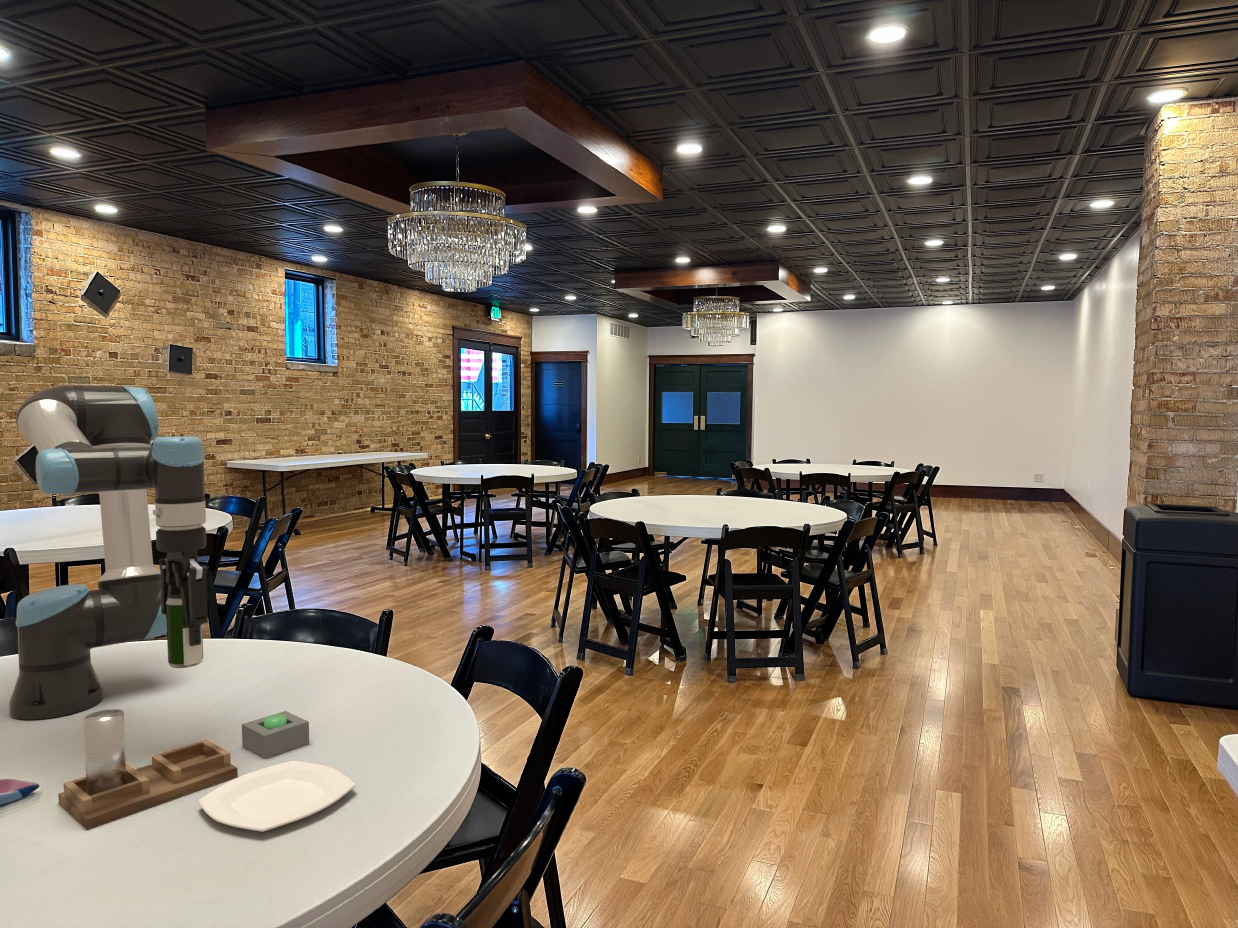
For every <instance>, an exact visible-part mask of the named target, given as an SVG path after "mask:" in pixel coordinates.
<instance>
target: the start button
mask: <svg viewBox="0 0 1238 928" xmlns="http://www.w3.org/2000/svg"><path fill="white" fill-rule="evenodd" d="M276 714H277V713H276ZM267 716H268V717H267ZM267 716H265V717H266V718H265V719H264V727H265V728H267V729H269V730H271V729H274V728H277V727H280V726H283V725H286V724H287V721H286V715H282V714H277V715H274V714H271V716H270V715H267Z"/></svg>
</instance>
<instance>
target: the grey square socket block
mask: <svg viewBox="0 0 1238 928" xmlns="http://www.w3.org/2000/svg"><path fill="white" fill-rule="evenodd" d="M277 714H282V715H286V721H287V724H286V725H283V726H280V727H277V728H274V729H271V730H269V729H267V728H265V727H264V719H265V718H266V717H268V716H271V715H272V714H271V715H267V716H265V717H260V718H258V719H254V720H251V721H247V722H245V723H242V724H241V744H242V746H241V747H243V748H244V749H246V750H248V751H249V752H252V753H253V754H255V755H257V756H259V757H261V758H262V759H264V760H266V759H269V758H271V757H275V756H278V755H280V754H281V755H282V754H284V753H286V752H289V751H292V750H295V749H299V748H301V747H304V746H307V745H309V744H310V722H309V721H308V720H306V719H304V718H302V717H299V716H298V715H296V714H293V713H290V712H288V711H287V710H284V711H281V712H278V713H274V714H273V715H277Z"/></svg>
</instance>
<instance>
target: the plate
mask: <svg viewBox="0 0 1238 928" xmlns="http://www.w3.org/2000/svg"><path fill="white" fill-rule="evenodd" d="M355 787H357V784H356V783H354V782H353V781H352V780H351V779H350V778H349V777H348V776H346V774H344V773H342V772H341V771H339V770H337V769H335V768H332V767H330V766H326V765H322V764H317V763H310V762H304V761H297V760H289V761H286V762H281V763H279V764H278V763H277V764H275V765H270V766H266V767H264V768H261V769H257V770H254V771H251V772H248V773H245V774H244V775H240V776H238V777H235V778H233V779H230V781H229V780H228V782H226V783H224V784H222V785H220V786H218V787H217V788H215V789H214V790H212V791H210V792H209V793H207V794H205V795H203V796H202V797H201V798H199V799H198V800H197V802H198V804H199V806H200V807H201V808H202V810H203V811H204V813H206V815H208V817H210V818H211V819H213V820H214V821H216V822H218V823H219V824H220V823H221V824H223V825H226V826H230V827H233V828H238V829H244V830H249V831H256V832H266V831H269V830H273V829H276V828H279V827H283V826H285V825H289V824H291V823H294V822H297V821H299V820H301V819H305V818H307V817H309V816H312V815H314V814H316V813H318V812H320V811H322V810H324V809H326V808H328V807H330V806H332V805H333V804H334V803H336V802H337V801H339V800H340V799H342V797H344V796H345V795H347V794H348V793H349V792H351V790H353V789H354V788H355Z"/></svg>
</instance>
